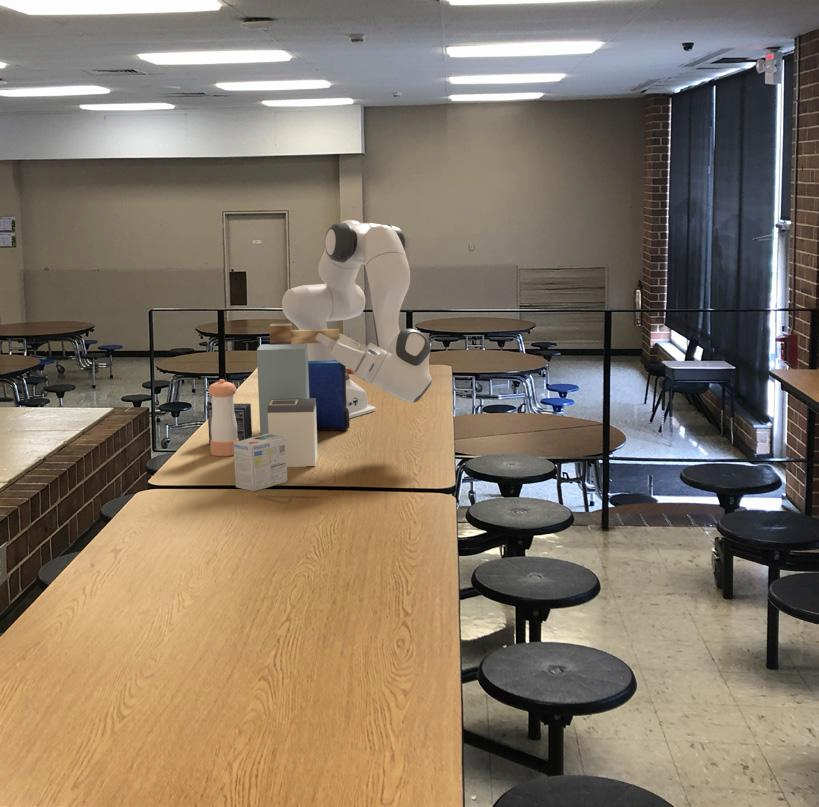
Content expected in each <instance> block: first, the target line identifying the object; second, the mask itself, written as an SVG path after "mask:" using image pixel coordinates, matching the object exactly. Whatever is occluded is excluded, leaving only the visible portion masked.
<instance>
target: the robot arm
mask: <svg viewBox="0 0 819 807" xmlns="http://www.w3.org/2000/svg"><path fill="white" fill-rule="evenodd" d="M324 245H325V246H324V251H323V254H322V256H321V258H320V261H319V264H318V275H319V277H320V279H321V280H322V281H323V282H324V283H319V284H303V285H299V286H296V287H292V288H290V289H287V290H286V291H285V293H284V295H283V297H282V301H281V309H282V312H283V314H284V316H285V317H286V318H287V319H288V320H289V321H290V322H291V323H292V324H294V325H295V326H296V327H297V328H298V330H307V329H329V328H328V325H327V322H336V321H346V320H349V319H353V318H357V317H359V316H361V315H362V313H363V312H364V310H365V306H366V296H365V293H364V291H363V289H362V288H361V287H360V285H358V284H356V279H357V276H358V274H359V271H360V269H361V267H362V265H364V267H365V271H366V275H367V280H368V286H369V293H370V300H371V307H372V308H371V309H372V320H373V325H374V333H375V338H376V344H374V343H373V342H369V343H368V345H365V344H364V343H359V342H357V341H356V340H354V339H352V338H351V337H348V335H345V334H344V333H340V332H339V339H337V340H336V341H335V340H333V339H330V338H329V337H327V336H325V335H324V334H322V333H318V335H317V336H316V340H318V341H319V342H321V343H304V344H308V361H331V360H337V361H338V362H340V363H341V364H343V365H344V366H346V408H347V409H348V410H349V418H350V419H353V418H355V417H358V416H361V415H365V414H369V413H372V412H375V411H376V407H375V406H374V405H371V404H368V403H369V402H368V395H367V392H366V391H365V390H364V389H363V388H362V387H361V386H359V385H358V384H357V383H355V381H353V380H352V379H351V377H350V375H352V376H355V377H358V378H359V379H362V380H363V381H365V382H367V383H369V384H370V385H374V386H377V387H379V388H381V389H382V390H383V391H384V392H385V393H387V394H390V395H391V396H393V397H395V398H397V399H399V400H401V401H405V402H408V403H411V404H412V403H414V404H415V403H417V402H419V401H421V398H422V397H423V396H424V395H425V393H426V392H427V391H428V389H429V388H430V386H431V385H432V381H433V380H432V376H431V374H430V362H429V361H430V353H431V350H432V347H431V342H430V340H429V339H428V337H427V336H426V335H425V334H424V332H423V333H422V332H421V331H420V330H417V329H413V328H404V329H402V330H400V326H399V318H400V312H401V308H402V305H403V302H404V300H405V297H406V295H407V293H408V291H409V288H410V285H411V271H410V270H411V269H410V265H409V264H410V263H409V261H408V257H407V254H406V237H405V235H404V232H403V231H402V229H401V228H400V227H397V226H394V225H390V224H387V225H385V224H379V223H375V222H374V223H373V222H359V221H358V220H354V219H353V220H352V219H347V220H344V221H342V222H338V223H334V224H332V225H331V226H330V227H329V228H328V230H327V231H326V235H325V239H324Z"/></svg>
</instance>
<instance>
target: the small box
mask: <svg viewBox="0 0 819 807" xmlns="http://www.w3.org/2000/svg"><path fill="white" fill-rule="evenodd" d="M251 406H252V405H251V403H234V413H235V417H236V422H237V438H238V439H239V441H241V440H245V439H249V438H252V437H253V425H252V407H251ZM211 421H212V404H211V405H209V406H207V423H208V442H209V443H208V446H209V447H211V444H210V441H211V439H212V435H211Z"/></svg>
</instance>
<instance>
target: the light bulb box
mask: <svg viewBox="0 0 819 807" xmlns="http://www.w3.org/2000/svg"><path fill="white" fill-rule="evenodd" d="M233 445H234V455H233V459H234V460H233V461H234V475H235V476H234V477H235V488H237V489H238V488H239V489H242V490H246V491H251V492H256V491H260V490H264V489H267V488H270V487H273V486H278V485H281V484H284V483H287V482H288V467H287V459H286V437H283V436H277V435H271V434H264V435H260V434H259V435H258V436H252V438H249V439H245V440H241V441H236V442H233Z"/></svg>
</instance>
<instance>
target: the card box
mask: <svg viewBox="0 0 819 807" xmlns="http://www.w3.org/2000/svg"><path fill="white" fill-rule="evenodd" d="M267 410H268V434H271V435H277V436H283V437H286V459H287V468H303V467H304V468H305V467H306V466H315V465H317V462H316V461H318V458H319V457H318V430H317V423H316V398H303V399H271V401H270V403H269V405H268V407H267ZM315 467H316V466H315ZM306 468H307V467H306Z"/></svg>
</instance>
